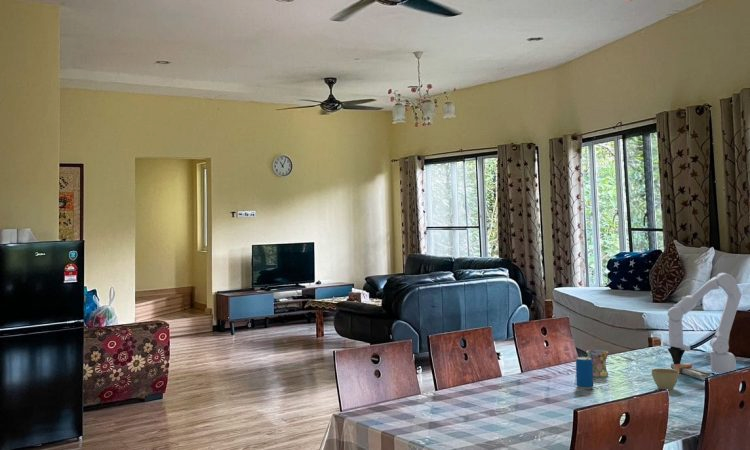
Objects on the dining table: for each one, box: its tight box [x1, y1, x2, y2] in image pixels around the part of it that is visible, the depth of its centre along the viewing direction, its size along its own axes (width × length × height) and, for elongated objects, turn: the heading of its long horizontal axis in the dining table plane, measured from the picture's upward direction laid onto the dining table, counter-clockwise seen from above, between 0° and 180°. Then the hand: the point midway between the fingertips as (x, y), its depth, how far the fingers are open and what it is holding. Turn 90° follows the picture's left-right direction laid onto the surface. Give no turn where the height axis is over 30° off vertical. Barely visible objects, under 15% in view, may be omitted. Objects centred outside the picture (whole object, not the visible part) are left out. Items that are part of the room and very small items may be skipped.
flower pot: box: [651, 368, 680, 391], centre depth 243 cm, size 10×10×7 cm
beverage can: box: [575, 356, 594, 390], centre depth 249 cm, size 6×6×12 cm
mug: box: [586, 349, 609, 378], centre depth 269 cm, size 12×9×11 cm
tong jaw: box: [680, 367, 706, 380], centre depth 263 cm, size 16×3×2 cm, turn 10°
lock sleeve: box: [674, 362, 693, 374], centre depth 270 cm, size 7×2×4 cm, turn 104°
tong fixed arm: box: [670, 362, 711, 377], centre depth 268 cm, size 4×21×2 cm, turn 14°
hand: (677, 364), depth 273 cm, fingers closed
